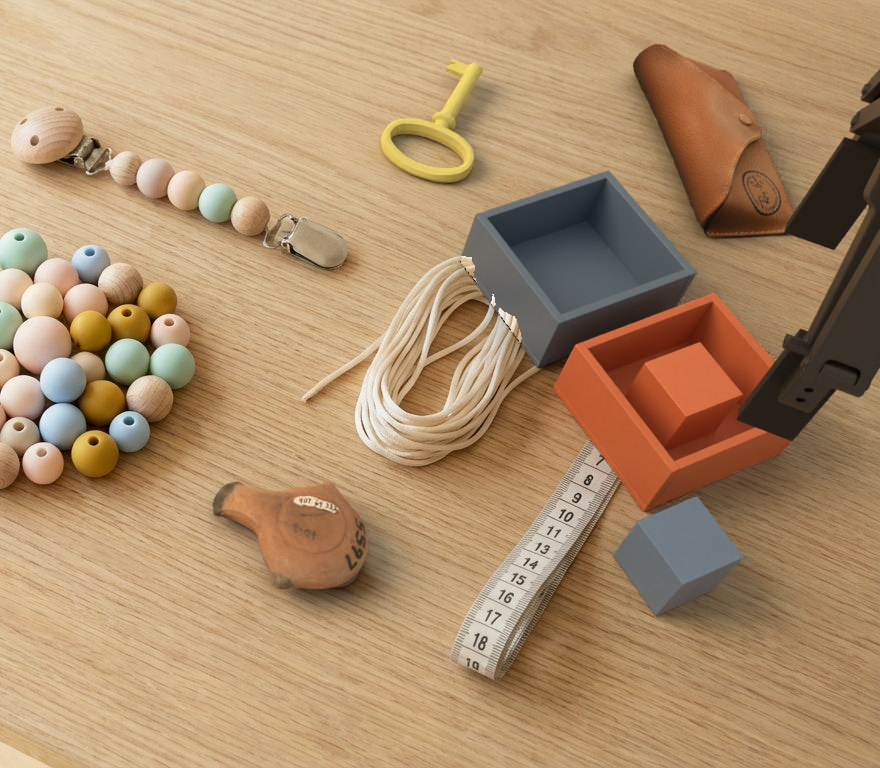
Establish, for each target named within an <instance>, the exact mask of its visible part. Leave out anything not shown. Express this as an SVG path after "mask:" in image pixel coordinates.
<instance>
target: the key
mask: <svg viewBox="0 0 880 768" xmlns="http://www.w3.org/2000/svg"><path fill="white" fill-rule="evenodd" d="M445 72H446V73H448V74H451V75H454V76H457V77H459V78H460V79H459V81H458V83H457V84H456V86H455V88H454V90H453V91H452V93H451V95H450V96H449V98H448V100H447V101H446V102H445V105H444V106H443V108H442V109H441V111H437V112H435V113H434V114H433V115H432V116H431V121H430V120H425V119H420V118H414V117H411V118H410V117H407V118H406V117H405V118H404V117H403V118H398V119H395V120H393V121H391V122H389V123H388V124H387V126H386V127H385V128H384V130H383V132H382V134H381V136H380V147H381V148H380V149H381V152H382V153H383V155H384V156H385V157H386V159H388V161H389V162H391V163H392V164H393V165H394V166H396V167H397V168H398V169H401V170H402V171H405V172H406V173H408V174H411V175H413V176H415V177H418V178H421V179H424V180H427V181H431V182H436V183H448V184H449V183H457V182H460V181H462V180H464V179H466V178H467V177H468V175H469V174H470V172H471V171H472V169H473V166H474V163H475V162H474V161H475V154H474V153H475V152H474V150H473V148H472V146H471V144H470V143H469V142H467V140H466V139H465V138H464V137H462V135H459V134H458V133H457V132H455V129H456V126H457V122H456V117H457V116H458V114H459V112H460V111H461V109H462V108H463V106H464V104H465V102H466V101H467V99H468V97H469V95H470V93H471V92H472V91H473V89H474V87H475V85H476V83H477V82H478V80H479V78H480V77H481V75H482V73H483V67H482V65H480V64H479V63H476V62H471V63H469V64H467V63H463V62H461V61H459V60H456V59H453V58H451V60H450V62H449V64H447V66H446V68H445ZM397 135H413V136H420V137H423V138H427V139H430V140H433V141H434V142H438V143H439V144H442V145H444V146H445V147H447V148H449V149H451V151H453V152H455V153H456V154H457V155H458V156H459V157H460V158H461V160H462V164H461V165H458V166H455V167H435V166H430V165H426V164H424V163H421V162H419V161H416V160H414V159H412V158H410V157H409V156H407V155H405V154H404V153H403V152H402V151H401V150H400V149H398V147H397V146H396V145H395V144H394V143H393V141H392V138H394V137H396V136H397Z"/></svg>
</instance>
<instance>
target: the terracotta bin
mask: <svg viewBox="0 0 880 768" xmlns="http://www.w3.org/2000/svg"><path fill="white" fill-rule="evenodd" d="M699 342H700V343H701V344H702V345H703V346H704V347H705V349H706V350H707V351H708V352H709V354H710V355H711V356H712V357H713V358H714V360H715V361H716V362H717V363H718V365H719V366H720V367H721V368H722V369H723V371H724V372H725V373H726V374H727V375H728V377H729V378H730V379H731V380H732V382H733V383H734V384H735V385H736V386H737V388H738V389H739V390H740V391H741V393H742V394H743V395H742V396H741V398H740V399H739V400H738V402H737V403H736V404H735V406H734V407H733V408H732V410H731V411H730V412H729V414H728V415H727V416H726V418H725V419H724V420H723V422H722V423H721V424H720V426H719V427H718V428H717V430H716V431H715V432H713V433H710V434H708V435H705V436H703V437H700V438H698V439H695V440H693V441H690V442H688V443H685V444H683V445H680V446H678V447H675V448H673V449H670V450H668V451H666V450H665V448H664V447H663V446H662V445H661V443H660V442H659V441H658V439H657V438H656V437H655V435H654V434H653V433H652V432H651V430H650V429H649V428H648V426H647V425H646V424H645V422H644V421H643V420H642V419H641V417H640V416H639V415H638V413H637V412H636V411H635V409H634V408H633V407H632V406H631V404H630V403H629V402H628V400H627V399H626V398H625V394H626V393H627V391H628V389H629V388H630V386H631V384H632V383H633V381H634V379H635V378H636V376H637V375H638V373H639V371H640V370H641V368H642V366H643V365H644V363H646V362H648V361H651V360H654V359H656V358H659V357H662V356H664V355H667V354H670V353H672V352H675V351H678V350H680V349H683V348H686V347H688V346H691V345H694V344H696V343H699ZM775 361H776V360H774V359H773V357H772V356H771V355H770V354H769V353H768V352H767V351H766V349H765V348H764V347H763V346H762V345H761V344H760V342H758V340H757V339H756V338H755V337H754V336H753V335H752V334H751V333H750V331H749V330H748V329H747V328H746V327H745V325H744V324H743V323H742V322H741V321H740V319H739V318H737V316H736V315H735V314H734V313H733V312H732V310H731V309H730V308H729V307H728V306H727V305H726V303H725V302H724V301H723V300H722V299H721V297H719V295H718V294H717V293H716V292H711V293H709V294H707V295H704V296H701V297H699V298H696V299H694V300H691V301H688V302H685V303H683V304H680V305H677V307H675V308H672V309H669V310H667V311H664V312H661V313H659V314H656V315H653V316H651V317H648V318H645V319H643V320H640V321H637V322H635V323H632V324H629V325H627V326H624V327H621V328H619V329H616V330H613V331H611V332H608V333H605V334H603V335H600V336H597V337H594V338H592V339H589V340H586V341H584V342H581V343H578V344H576V345H575V346H574V348H573V350H572V352H571V354H570V356H568V358H567V360H566V362H565V364H564V366H563V368H562V369H561V371H560V373H559V375H558V378H557V379H556V381H555V383H554V385H553V387H552V390H553V392H555V394H557V396H558V397H559V399H560V400H561V402H562V403H563V405H564V406H565V407H566V409H567V410H568V411H569V413H570V414H571V415H572V418H574V419H575V421H576V423H578V425H579V426H580V428H582V431H583V432H584V433H585V435H586V436H587V438H588V439H589V440H590V441H591V443H592V444H593V445H594V447H595V448H596V450H597V451H598V452H599V453H600V455H601V456H602V458H603V459H604V461H605V462H606V463H607V464H608V465H609V467H610V469H611V470H612V471H613V473H614V474H615V475H616V476H617V478H618V479H619V481H620V482H621V484H622V485H623V486H624V487H625V489H626V490H627V492H628V493H629V494H630V496H631V497H632V498H633V500H634V501H635V503H636V504H637V505H638V507H639V508H640V509H641V511H642V512H646V511H649V510H651V509H654V508H656V507H659V506H660V505H663V504H666V503H668V502H670V501H673V500H675V499H677V498H679V497H682V496H684V495H686V494H687V495H688V494H689V493H691V492H694V491H697V490H698V489H700V488H703V487H705V486H708V485H710V484H712V483H714V482H717V481H719V480H721V479H724V478H727V477H728V476H731V475H733V474H735V473H738V472H740V471H742V470H745V469H747V468H750V467H752V466H755V465H756V464H759V463H762V462H764V461H766V460H769V459H771V458H773V457H776V456H778V455H781V454H782V453H783V452H784V451H785V450H786V449H787V448H788V447H789V445H790V444H791V443H792V442H793V441H790V440H787V439H784V438H782V437H779V436H777V435H774V434H771V433H769V432H766V431H764V430H761V429H758V428H756V427H753V426H751V425H748V424H745V423H743V422H740V421H738V420H736V419H737V416H738V412H739V408H740V407H741V406H742V404H743V403H744V402H745V400H746V399H747V398H748V396H749V395H750V394H751V392H752V391H753V390H754V389H755V387H756V386H757V385H758V383H759V382H760V381H761V379H762V378H763V377H764V375H765V374H766V373H767V371H768V370H769V369H770V368H771V366H772V365H773V364H774V362H775Z"/></svg>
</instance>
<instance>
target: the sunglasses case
mask: <svg viewBox="0 0 880 768" xmlns="http://www.w3.org/2000/svg"><path fill="white" fill-rule="evenodd" d="M632 68H633V73H634V75H635V78H636V80H637V82H638V84H639V87H640V89H641V90H642V92H643V94H644V97H645V99H646V100H647V102H648V104H649V108H650V110H651V112H652V113H653V115H654V117H655V120H656V121H657V125H658V127H659V129H660V132H661V134H662V137H663V139H664V142H665V144H666V146H667V149H668V151H669V153H670V155H671V159H672V160H673V163H674V166H675V169H676V170H677V174H678V176H679V178H680V181H681V183H682V186H683V188H684V190H685V193H686V197H687V198H688V201H689V204H690V206H691V209H692V211H693V213H694V217H695V218H696V221H697V223H698V225H699V227H700V228H701V229H702V230H703V232H704V235H705V236H706V237H707V238H713V239H714V238H753V237H754V238H755V237H763V236H765V237H766V236H774V235H782V234H783V235H785V234H786V233H784V231H785V227H786V224H787V222H788V221H789V219H790V218H791V216H792V215H793V213H794V212H795V210H794V207H793V205H792V202H791V199H790V197H789V194H788V192H787V189H786V187H785V184H784V182H783V181H782V177H781V176H780V174H779V171H778V169H777V167H776V164H775V163H774V160H773V158H772V155H771V153H770V151H769V150H768V147H767V146H766V143H765V141H764V139H763V137H762V135H763V133H762V130H761V127H760V125H759V123H758V120H757V117H756V116H755V115H754V113H753V112H752V111H751V110H750V107H749V106H748V104H747V102H746V99H745V97H744V95H743V93H742V90H741V89H740V86H739V84H738V83H737V80H736V79H735V77H734V76H733V74H732V73H731V72H730V71H727V70H726V69H717V68H716V67H713V66H710V65H708V64H705V63H702V62H700V61H696V60H695V59H692V58H689V57H686V56H685V55H684V56H683V54H680V53H679V52H678V51H676V50H674V49H673V48H671V47H670V46H668V45H667V44H664V43H663V44H662V43H654V44H652V45H650V46H647V47H646V48H644V49H643V50H641V51H640V52H639V53H638V55H637V56H636V57H635V59H634V60H633V62H632Z"/></svg>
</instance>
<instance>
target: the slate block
mask: <svg viewBox="0 0 880 768" xmlns="http://www.w3.org/2000/svg"><path fill="white" fill-rule="evenodd" d="M612 557H613V558H614V559H615V560H616V562H617V563H618V565H619V566H620V568H621V569H622V571H623V572H624V573H625V575H626V576H627V578H628V579H629V580H630V582H631V583H632V585H633V586H634V588H635V589H636V590H637V592H638V593H639V595H640V597H642V599H643V600H644V602H645V603H646V604H647V606H648V608H649V609H650V610H651V611H652V613H653V615H654V616H656V617H657V616H659V615H662V614H664V613H666V612H668V611H670V610H672V609H675V608H677V607H679V606H681V605H683V604H687V603H689V602H690V601H693V600H695V599H697V598H698V597H701V596H703V595H706V594H708V593H710V592H712V591H714V590H715V589H716V588H717V587H718V586H719V585H720V584H721V582H723V581H724V579H726V577H728V575H729V574H730V573H731V572H732V571H733V570H734V569H735V568H736V567H737V565H739V564H740V562H742V560H743V559H744V558H745V557H744V555H743V554H742V552H741V551H740V550H739V548H738V547H737V546H736V545H735V543H734V541H733V540H731V538H730V537H729V535H727V533H726V531H725V530H724V529H723V528H722V527H721V525H720V523H719V522H718V521H717V520H716V518H715V517H714V516H713V514H712V513H711V512H710V511H709V510H708V508H707V507H706V506H705V504H704V503H703V502H702V500H701V499H700V498H699V496H694V497H691V498H689V499H687V500H684V501H682V502H679V503H678V504H677V503H676V504H675V505H673V506H670V507H668V508H665V509H663V510H660V511H658V512H657V513H656V512H655V513H654V514H651V515H649V516H647V517H645V518H643V519H640V520H638V521H636V523H635V524H634V525H633V527H632V528H631V529H630V531H629V532H628V533H627V535H626V537H625V538H624V539H623V540H622V542H621V543H620V545H618V548H617V549H616V550H615V551H614V553H613V554H612Z"/></svg>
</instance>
